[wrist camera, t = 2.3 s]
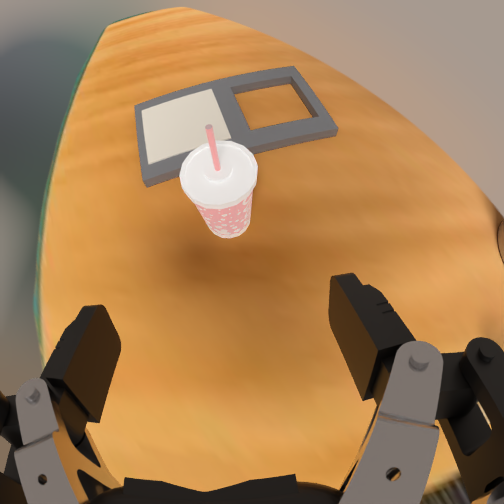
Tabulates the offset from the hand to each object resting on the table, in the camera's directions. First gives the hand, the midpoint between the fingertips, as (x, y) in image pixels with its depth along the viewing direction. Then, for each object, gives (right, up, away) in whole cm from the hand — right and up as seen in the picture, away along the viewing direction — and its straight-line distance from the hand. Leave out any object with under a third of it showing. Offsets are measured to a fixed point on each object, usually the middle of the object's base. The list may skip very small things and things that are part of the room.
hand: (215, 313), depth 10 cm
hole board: (-2, +20, +25) cm, 32 cm away
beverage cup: (-1, +6, +21) cm, 21 cm away
